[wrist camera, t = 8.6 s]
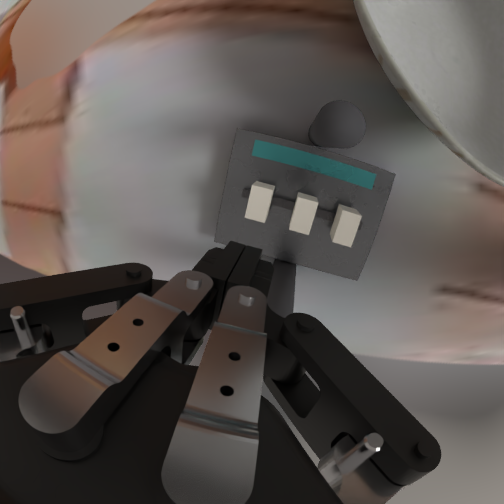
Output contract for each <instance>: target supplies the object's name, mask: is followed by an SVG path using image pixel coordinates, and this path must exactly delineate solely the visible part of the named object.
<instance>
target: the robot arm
mask: <svg viewBox="0 0 504 504" xmlns="http://www.w3.org/2000/svg"><path fill="white" fill-rule="evenodd" d="M262 250H263V249H260V248H256V247H253V246H249V245H247V246H246V245H245V244H242V243H238V242H234V241H230V242H229V243H228V244H227V246H226V247H225V248H224V249H221V248H217V247H216V248H213V249H211V250H208V252H207V253H206V254H205V255H204V256H203V257H202V259H201V260H200V261H199V262H198V263H197V265H196V266H195V267H194V268H193V269H192V270H187V271H182V272H179V273H178V274H176V275H175V276H174V277H173V278H172V279H171V280H170V281H163V280H156V279H152V276H153V272H152V270H151V269H150V268H149V267H148V266H146V265H143V264H140V263H125V264H119V265H113V266H107V267H100V268H94V269H88V270H82V271H76V272H70V273H64V274H58V275H52V276H46V277H40V278H34V279H28V280H22V281H16V282H10V283H5V284H0V504H385V503H386V502H387V501H388V500H390V499H391V497H393V496H394V495H395V494H396V493H397V492H398V491H400V490H402V489H404V488H405V487H407V486H409V485H410V484H412V483H413V482H415V481H417V480H418V479H420V478H422V477H423V476H424V475H426V474H428V473H429V472H431V471H432V470H434V469H435V468H436V467H437V466H438V464H439V462H440V459H441V450H440V446H439V444H438V442H437V440H436V439H435V438H434V437H433V436H432V435H431V434H430V433H429V432H428V431H427V430H426V429H425V428H424V427H423V426H422V425H421V424H420V423H419V422H418V421H417V420H416V419H415V417H414V416H412V415H411V413H410V412H408V410H407V409H405V407H404V406H403V405H402V404H401V403H400V402H399V401H398V400H397V399H396V398H395V397H394V396H393V395H392V394H391V393H390V392H389V391H388V390H387V389H386V388H385V387H384V386H383V385H382V384H381V383H380V382H379V381H378V380H377V379H376V378H375V377H374V376H373V375H372V374H371V373H370V372H369V371H368V370H367V369H366V368H365V367H364V366H363V365H362V364H361V363H360V362H359V361H358V360H357V359H356V358H355V357H354V356H353V355H352V354H351V353H350V352H349V350H348V349H347V348H346V347H345V346H344V345H343V344H342V343H341V342H340V341H339V340H338V339H337V338H336V337H335V336H334V335H333V334H332V333H331V332H330V331H329V330H328V329H327V328H326V327H325V326H324V325H323V324H322V323H321V322H320V321H319V320H317V319H316V318H314V317H313V316H310V315H308V314H304V313H292V314H289V315H288V316H286V318H284V317H282V316H280V315H278V314H276V313H275V312H274V311H272V310H271V309H270V307H269V306H268V304H267V297H268V293H269V289H270V285H271V281H272V277H273V272H274V267H273V265H272V264H271V262H267V261H263V260H260V259H261V255H262ZM113 301H116V302H117V311H116V312H115V313H114V314H112V315H108V316H104V317H99V318H94V319H90V320H83V319H82V313H83V311H84V310H85V309H86V308H87V307H89V306H94V305H99V304H104V303H108V302H113ZM208 329H210V330H212V331H211V333H210V336H209V339H208V342H207V345H206V348H205V351H204V353H203V356H202V359H201V362H200V365H199V366H191V365H189V364H190V363H191V361H192V359H193V358H194V356H195V355H196V353H197V351H198V350H199V348H200V347H201V345H202V344H203V341H204V336H205V334H206V333H207V331H208ZM306 371H307V372H308V373H309V374H310V376H311V377H312V378H313V379H314V380H315V382H316V383H317V384H318V386H319V388H320V391H319V390H318V389H317V387H316V386H315V385H314V384H313V382H312V381H311V380H310V379H309V378H308V376H307V375H306V374H305V372H306ZM263 379H264V382H265V384H266V386H267V387H268V388H269V390H270V392H271V393H272V395H273V396H274V397H275V399H276V400H277V402H278V403H279V405H280V406H281V407H282V409H283V410H284V412H285V413H286V414H287V416H288V417H289V419H290V420H291V422H292V423H293V424H294V426H295V427H296V428H297V430H298V431H299V433H300V434H301V435H302V437H303V438H304V439H305V441H306V442H307V443H308V445H309V446H310V447H311V449H312V450H313V451H314V453H316V455H317V456H318V458H319V459H320V461H319V463H318V468H317V467H316V466H315V464H314V463H313V461H312V460H311V459H310V457H309V456H308V454H307V453H306V451H305V450H304V448H303V447H302V446H301V444H300V443H299V441H298V440H297V438H296V437H295V435H294V434H293V432H292V431H291V429H290V428H289V426H288V425H287V423H286V422H285V420H284V418H283V417H282V415H281V414H280V412H279V411H278V410H277V409H276V408H275V407H274V405H272V404H271V403H270V402H269V401H268V400H267V399H266V398H264V397H263V396H262V395H261V389H262V380H263Z"/></svg>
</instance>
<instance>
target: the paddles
mask: <svg viewBox="0 0 504 504" xmlns="http://www.w3.org/2000/svg"><path fill="white" fill-rule="evenodd" d="M274 189H275V186H274V185H270V184H266V183H262V182H258V181H256V182H255V183H254V184H252V187H251V191H250V196H249V200H248V205H247V209H246V214H245V218H247V219H251V220H255V221H259V222H263V223H265V221H266V219H267V216H268V213H269V209H270V205H271V201H272V197H273V193H274ZM317 206H318V200H317V197H314V196H311V195H307V194H304V193H300V192H298V195H297V198H296V202H295V206H294V209H293V213H292V216H291V220H290V226H289V230H292V231H296V232H299V233H303V234H306V235H309V233H310V230H311V226H312V223H313V220H314V216H315V213H316V210H317ZM361 217H362V216H361V214H360V213H359V212H358V211H357V209H354V208H350V207H347V206H344V205H341V204H339V206H338V209H337V212H336V215H335V218H334V221H333V225H332V228H331V231H330V236H331V239H332V242H334V243H338V244H341V245H344V246H348V247H351V246H352V243H353V240H354V238H355V235H356V232H357V229H358V226H359V223H360V220H361Z"/></svg>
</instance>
